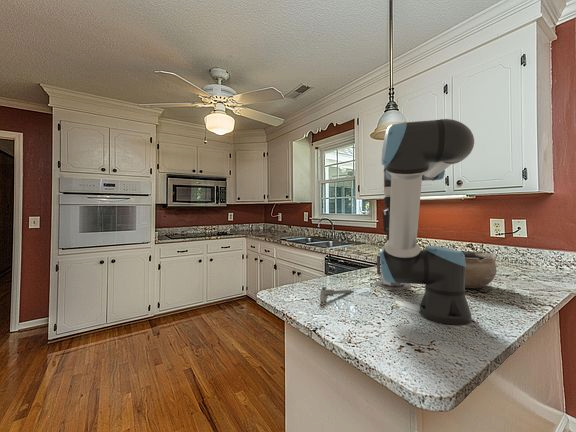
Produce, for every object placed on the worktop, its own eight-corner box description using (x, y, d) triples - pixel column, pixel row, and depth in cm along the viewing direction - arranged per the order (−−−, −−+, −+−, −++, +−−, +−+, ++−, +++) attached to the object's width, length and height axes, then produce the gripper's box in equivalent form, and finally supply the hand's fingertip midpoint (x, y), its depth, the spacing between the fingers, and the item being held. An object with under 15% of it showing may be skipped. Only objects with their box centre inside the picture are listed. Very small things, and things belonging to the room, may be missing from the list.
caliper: (322, 304, 105) (322, 288, 105) (320, 303, 106) (320, 287, 106) (353, 292, 119) (353, 278, 118) (351, 291, 120) (351, 277, 119)
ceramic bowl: (476, 296, 110) (476, 260, 110) (428, 283, 130) (429, 252, 130) (507, 289, 119) (507, 255, 119) (458, 277, 139) (459, 248, 139)
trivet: (418, 286, 125) (418, 284, 125) (399, 293, 115) (399, 291, 115) (387, 279, 138) (386, 277, 138) (367, 285, 128) (367, 283, 128)
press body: (408, 284, 125) (408, 253, 125) (396, 288, 119) (396, 256, 119) (383, 279, 136) (383, 250, 135) (371, 282, 130) (371, 252, 129)
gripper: (394, 196, 133) (394, 244, 134) (374, 196, 123) (375, 247, 124) (409, 196, 127) (409, 245, 128) (389, 195, 117) (390, 249, 118)
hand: (392, 246), depth 126 cm, fingers closed on plunger, 4 cm apart
